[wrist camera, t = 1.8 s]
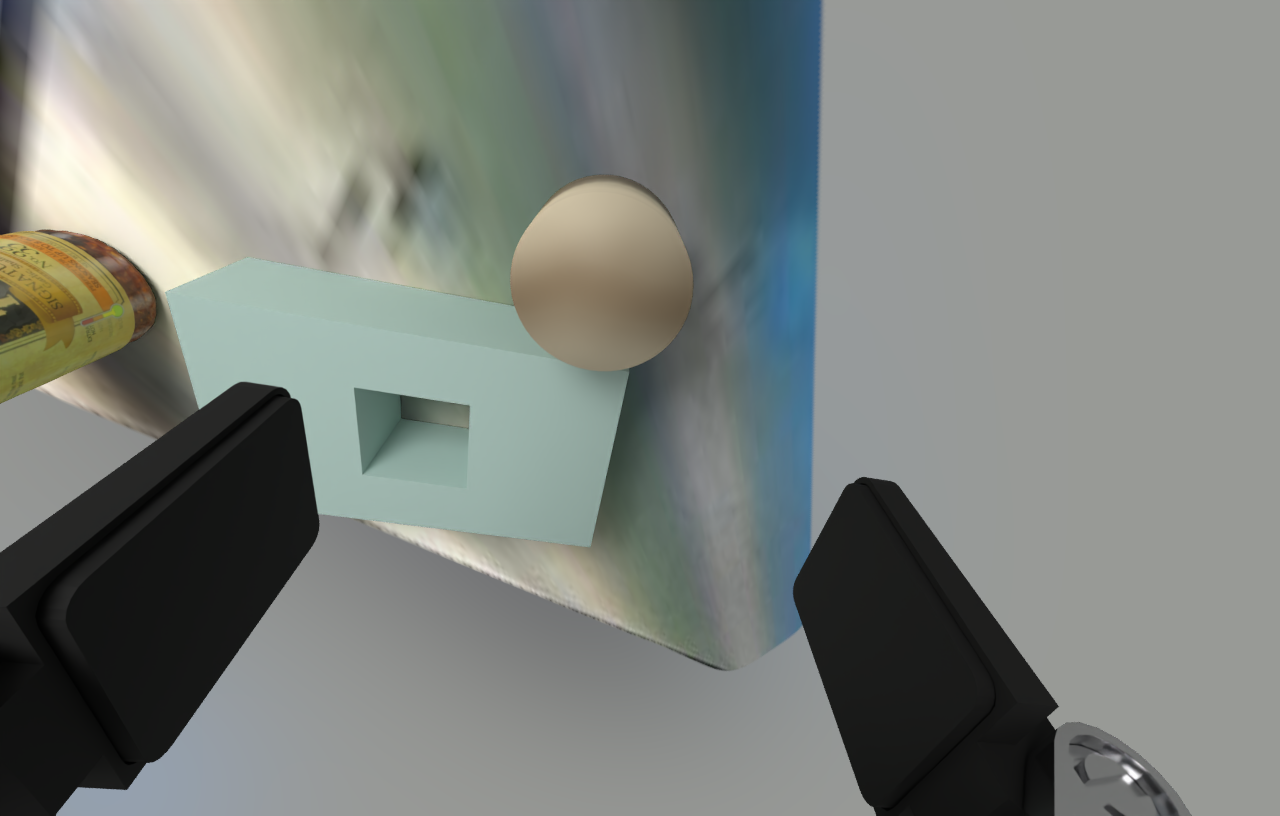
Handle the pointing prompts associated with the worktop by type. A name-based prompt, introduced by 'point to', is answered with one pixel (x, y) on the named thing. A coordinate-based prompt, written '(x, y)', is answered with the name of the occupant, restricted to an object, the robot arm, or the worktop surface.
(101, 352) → the sauce bottle
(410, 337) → the block
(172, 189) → the worktop surface
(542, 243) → the pin
